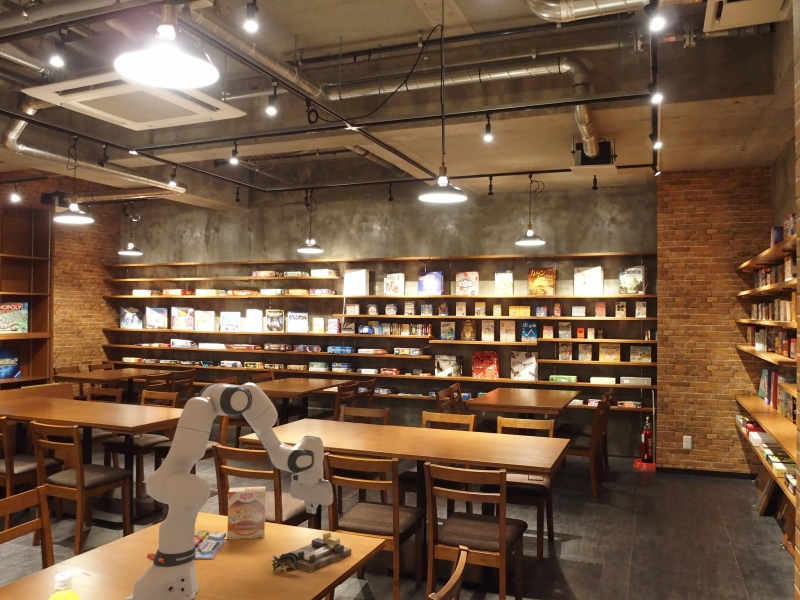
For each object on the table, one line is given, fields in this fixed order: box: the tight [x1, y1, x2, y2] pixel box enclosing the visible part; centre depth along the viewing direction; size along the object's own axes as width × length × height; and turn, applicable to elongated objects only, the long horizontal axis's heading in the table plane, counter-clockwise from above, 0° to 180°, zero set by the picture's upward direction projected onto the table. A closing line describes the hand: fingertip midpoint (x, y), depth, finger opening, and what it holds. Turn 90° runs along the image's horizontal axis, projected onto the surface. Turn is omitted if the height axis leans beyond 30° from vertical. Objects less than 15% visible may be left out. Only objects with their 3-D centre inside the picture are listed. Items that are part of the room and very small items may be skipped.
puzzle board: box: [154, 529, 227, 560], centre depth 249 cm, size 30×23×3 cm
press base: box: [288, 537, 352, 573], centre depth 237 cm, size 22×16×4 cm
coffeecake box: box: [226, 486, 266, 540], centre depth 261 cm, size 15×7×20 cm, turn 101°
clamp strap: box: [302, 544, 334, 561], centre depth 234 cm, size 16×4×1 cm, turn 143°
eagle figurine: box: [270, 552, 299, 574], centre depth 224 cm, size 8×7×9 cm
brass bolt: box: [322, 531, 341, 546], centre depth 240 cm, size 3×6×3 cm, turn 53°
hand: (311, 512), depth 246 cm, fingers closed
